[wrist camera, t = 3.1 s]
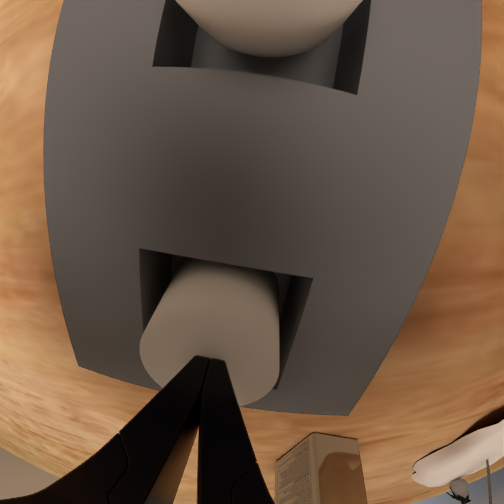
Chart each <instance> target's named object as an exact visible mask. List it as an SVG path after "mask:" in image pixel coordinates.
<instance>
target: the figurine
mask: <svg viewBox="0 0 504 504" xmlns="http://www.w3.org/2000/svg"><path fill="white" fill-rule="evenodd" d="M503 456H504V419H503V420H502V421H501V422H499V423H498V424H495V425H492V426H488V427H485V428H482V429H479V430H477V431H474V432H472V433H470V434H468V435H466V436H464V437H462V438H460V439H459V440H457V441H455V442H454V443H452V444H450V445H448V446H446V447H444V448H442V449H440V450H438V451H436V452H434V453H432V454H430V455H429V456H427V457H425V458H423V459H421V460H419V461H417V462H416V464H415V465H414V466H413V469H414V470H415V472H416V473H414V474H413V475H412V476H411V477H412V478H413V480H414V481H416V482H417V483H419V484H421V485H424V486H427V487H437V486H443V485H445V484H448V483H450V484H449V485H450V489H451V491H452V493H453V495H454V496H453V495H450V494H449V493H448V492H446V493H448V494H449V495H450V496H451V497H452V498H454V499H456V500H459V501H461V503H462V504H466V503H467V502H470V501H471V500H469V492H468V484H467V482H466V481H465V480H464V479H459V478H461V477H463V476H465V475H469V474H473V473H475V472H477V471H479V470H481V469H483V468H485V467H487V475H488V487H489V504H492V496H491V480H490V469H489V466H490V465H492V464H493V463H495V462H496V461H497V460H499V459H500V458H501V457H503Z"/></svg>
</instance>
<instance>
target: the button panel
mask: <svg viewBox="0 0 504 504" xmlns="http://www.w3.org/2000/svg"><path fill="white" fill-rule="evenodd" d="M481 45H482V0H363V1H362V2H361V3H360V4H359V5H358V7H357V8H356V9H355V10H354V11H353V12H352V14H351V15H350V16H349V17H348V18H347V19H346V21H345V22H344V23H343V24H342V25H341V27H340V28H339V29H338V30H337V31H336V32H335V34H334V35H333V36H332V37H330V38H329V39H328V40H327V41H325V42H324V43H322V44H321V45H319V46H317V47H315V48H313V49H311V50H309V51H306V52H303V53H300V54H296V55H292V56H285V57H256V56H251V55H246V54H243V53H239V52H236V51H233V50H231V49H229V48H226V47H225V46H223V45H221V44H219V43H218V42H216V41H215V40H213V39H212V38H211V37H210V36H209V35H208V34H206V33H205V32H204V31H203V30H202V28H201V27H200V26H199V25H198V24H197V23H196V22H195V21H194V20H193V19H192V18H191V16H190V15H189V14H188V13H187V12H186V11H185V10H184V9H183V8H182V7H181V6H180V5H179V4H178V3H177V2H176V1H175V0H64V1H63V5H62V9H61V13H60V17H59V21H58V25H57V29H56V34H55V39H54V44H53V49H52V55H51V61H50V68H49V75H48V83H47V93H46V104H45V118H44V150H43V156H44V189H45V204H46V215H47V225H48V234H49V241H50V248H51V255H52V261H53V267H54V273H55V278H56V283H57V288H58V293H59V297H60V302H61V306H62V310H63V314H64V318H65V322H66V326H67V330H68V333H69V337H70V340H71V344H72V347H73V350H74V353H75V357H76V360H77V363H78V366H80V367H83V368H85V369H88V370H91V371H94V372H97V373H100V374H103V375H106V376H109V377H112V378H115V379H119V380H122V381H125V382H129V383H132V384H136V385H139V386H143V387H147V388H150V389H154V390H158V391H160V390H161V389H162V387H161V386H160V385H158V384H157V383H156V382H155V381H154V380H153V379H152V377H151V376H150V375H149V374H148V372H147V371H146V369H145V367H144V365H143V363H142V360H141V357H140V351H139V346H140V340H141V337H142V335H143V333H144V331H145V329H146V327H147V325H148V323H149V321H150V319H151V318H152V316H153V314H154V312H155V310H156V308H157V306H158V304H159V302H160V301H161V299H162V297H163V295H164V293H165V291H166V290H167V288H168V286H169V284H170V282H171V280H172V279H173V277H174V275H175V273H176V271H177V270H178V268H179V266H180V264H181V263H182V261H183V260H184V259H185V258H186V257H191V258H197V259H202V260H208V261H214V262H220V263H225V264H231V265H237V266H243V267H249V268H255V269H261V270H267V271H273V272H274V273H275V275H276V278H277V281H278V287H279V376H278V380H277V382H276V384H275V385H274V387H273V388H272V390H271V391H270V392H269V393H268V394H266V395H265V396H264V397H262V398H261V399H259V400H257V401H255V402H252V403H250V404H247V405H243V406H239V407H245V408H252V409H260V410H268V411H278V412H288V413H300V414H316V415H341V416H348V415H349V414H350V412H351V411H352V409H353V408H354V406H355V405H356V403H357V402H358V400H359V399H360V397H361V396H362V394H363V393H364V391H365V390H366V388H367V387H368V385H369V383H370V382H371V380H372V379H373V377H374V375H375V374H376V372H377V370H378V369H379V367H380V365H381V364H382V362H383V360H384V358H385V357H386V355H387V353H388V351H389V350H390V348H391V346H392V344H393V342H394V341H395V339H396V337H397V335H398V333H399V331H400V329H401V327H402V325H403V323H404V321H405V320H406V318H407V316H408V313H409V311H410V309H411V307H412V305H413V303H414V301H415V299H416V297H417V295H418V292H419V290H420V288H421V286H422V284H423V281H424V279H425V277H426V274H427V272H428V270H429V267H430V265H431V262H432V260H433V257H434V255H435V252H436V250H437V247H438V244H439V242H440V239H441V236H442V234H443V231H444V228H445V225H446V222H447V219H448V216H449V213H450V210H451V207H452V204H453V201H454V197H455V194H456V191H457V187H458V184H459V180H460V176H461V172H462V169H463V165H464V161H465V156H466V152H467V148H468V143H469V139H470V134H471V128H472V123H473V118H474V112H475V105H476V98H477V91H478V83H479V73H480V62H481Z"/></svg>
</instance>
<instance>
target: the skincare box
mask: <svg viewBox="0 0 504 504" xmlns="http://www.w3.org/2000/svg"><path fill="white" fill-rule="evenodd" d="M274 503H275V504H367V497H366V490H365V483H364V477H363V471H362V464H361V459H360V452H359V447H358V441H357V440H355V439H349V438H342V437H336V436H330V435H324V434H319V433H312V434H311V435H310V436H308V437H307V438H306V439H304V440H303V441H302V442H301V443H299V444H298V445H297V446H296V447H295V448H293V449H292V450H291V451H290V452H288V453H287V454H286V455H285V456H283V457H282V458H281V459H280V460H278V461H277V462H276V463H275V501H274Z"/></svg>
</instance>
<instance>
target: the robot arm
mask: <svg viewBox="0 0 504 504" xmlns="http://www.w3.org/2000/svg"><path fill="white" fill-rule="evenodd" d="M198 428H199V439H198V468H197V504H275V503H274V501H273V499H272V497H271V495H270V493H269V491H268V489H267V486H266V484H265V481H264V479H263V476H262V474H261V471H260V468H259V465H258V463H256V462H257V460H256V457H255V454H254V451H253V448H252V445H251V442H250V439H249V436H248V433H247V430H246V427H245V424H244V421H243V418H242V414H241V411H240V408H239V405H238V402H237V398H236V395H235V392H234V389H233V385H232V382H231V379H230V375H229V372H228V368H227V365H226V362H225V361H224V360H221V359H215V358H211V359H209V358H208V357H204V356H199V355H195V356H194V357H193V358H192V359H191V360H190V361H189V362H188V363H187V364H186V365H185V366H184V367H183V368H182V369H181V370H180V371H179V372H178V373H177V374H176V375H175V376H174V377H173V378H172V379H171V380H170V381H169V382H168V383H167V384H166V385H165V386H164V387H163V388H162V389H161V390H160V391H159V392H158V393H157V395H156V396H155V397H154V398H153V399H152V400H151V401H150V402H149V403H148V404H147V405H146V406H145V407H144V408H143V409H142V410H141V411H140V412H138V413H137V414H136V415H135V416H134V417H133V418H132V419H131V420H130V421H129V422H128V423H127V424H126V425H125V426H124V427H123V428H122V429H121V430H120V431H119V434H118V433H117V434H116V435H115V436H114V437H113V438H112V439H111V440H110V441H109V442H108V443H107V444H105V445H104V446H103V447H102V448H101V449H100V450H99V451H98V452H96V453H95V454H94V455H93V456H91V457H90V458H89V459H87V460H86V461H85V462H83V463H82V464H81V465H79V466H78V467H76V468H75V469H74V470H72V471H71V472H69V473H68V474H66V475H65V476H63V477H62V478H60V479H59V480H57V481H56V482H54V483H53V484H51V485H50V486H48V487H47V488H45V489H43V490H41V491H39V492H36V493H34V494H31V495H27V496H23V497H16V498H10V499H3V500H0V504H173V501H174V499H175V496H176V493H177V490H178V487H179V484H180V481H181V478H182V475H183V472H184V469H185V467H186V464H187V461H188V458H189V455H190V452H191V449H192V446H193V443H194V440H195V437H196V434H197V431H198Z"/></svg>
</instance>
